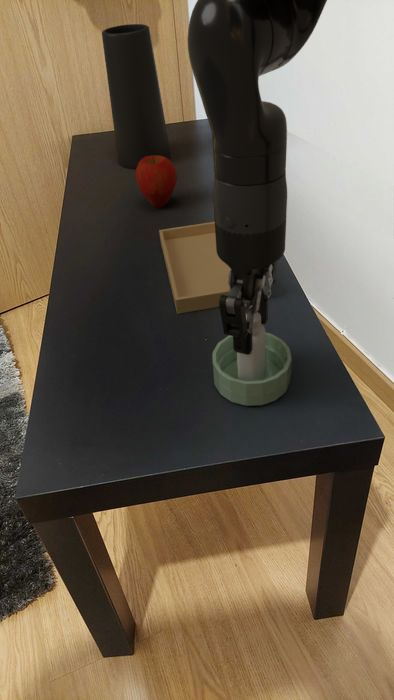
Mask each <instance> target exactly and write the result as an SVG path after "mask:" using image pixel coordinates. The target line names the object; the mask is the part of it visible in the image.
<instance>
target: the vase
mask: <svg viewBox="0 0 394 700" xmlns="http://www.w3.org/2000/svg"><path fill="white" fill-rule="evenodd" d="M150 30H151V29H150V26H148V24H142V23H130V24H129V23H128V24H122V25H121V24H120V25H114V26H111V27H107V28H105V29H103V30H102V32H101V39H102V46H103V54H104V63H105V69H106V70H105V71H106V78H107V86H108V92H109V99H110V100H109V102H110V109H111V117H112V124H113V132H114V133H113V134H114V141H115V147H116V154H117V162H118V164H119V166H121V167H122V168H125V169H128V170H136V168H137V166H138V164H139V162H140V160H142V159H143V158H144V157H147V156H154V155H159V156H163V157H166V158H168V159H169V160H171V155H172V154H171V148H170V142H169V136H168V130H167V125H166V124H167V123H166V119H165V113H164V112H165V111H164V105H163V99H162V95H161V88H160V82H159V77H158V71H157V70H158V69H157V64H156V59H155V53H154V47H153V41H152V36H151V31H150Z"/></svg>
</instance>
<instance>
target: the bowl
mask: <svg viewBox="0 0 394 700" xmlns="http://www.w3.org/2000/svg"><path fill="white" fill-rule="evenodd" d="M265 333H266V348H265V377H264V380H262V381H244V380H239V379H238V366H237V352H235V351H234V348H233V336H230V335H226V337H224V338H223V339H222V340H220V341H218V343H217V344H216V346H215V348H214V349H213V351H212V369H213V371H212V372H213V383H214V387H215V388H216V390H217V391H218V392H219V394H220V395H221V396H222V397H224V398H225V399H226V400H228V401H229V402H231V403H235V404H237V405H242V406H246V407H250V406H251V407H252V406H264V405H267V404H270V403H272V402H275V401H278V399H279V398H281V397H282V396H283V395H284V394H285V393H286V392H287V390H288V388H289V386H290V383H291V377H292V376H291V375H292V360H293V358H292V353H291V348H290V347H289V346H288V344H287V343H286V342H285V341H284V340H283V339H281V338H280V337H278V336H277V335H274V334H272V333H271V332H266V331H265Z"/></svg>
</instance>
